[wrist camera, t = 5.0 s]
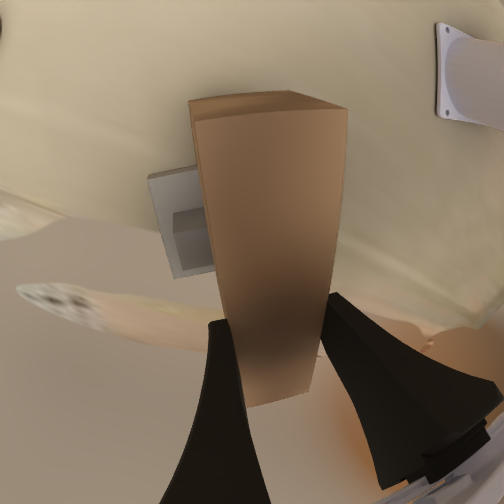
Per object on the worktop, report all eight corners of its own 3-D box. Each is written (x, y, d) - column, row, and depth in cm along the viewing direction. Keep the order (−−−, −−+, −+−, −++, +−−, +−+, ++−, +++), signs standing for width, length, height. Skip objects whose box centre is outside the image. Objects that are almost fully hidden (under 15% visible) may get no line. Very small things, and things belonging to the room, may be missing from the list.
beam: (288, 90, 9) (347, 109, 6) (286, 337, 18) (308, 391, 15) (188, 100, 9) (194, 121, 5) (231, 350, 17) (246, 408, 14)
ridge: (299, 150, 17) (323, 166, 14) (299, 246, 21) (317, 273, 18) (148, 174, 15) (142, 196, 13) (173, 271, 19) (175, 303, 17)
